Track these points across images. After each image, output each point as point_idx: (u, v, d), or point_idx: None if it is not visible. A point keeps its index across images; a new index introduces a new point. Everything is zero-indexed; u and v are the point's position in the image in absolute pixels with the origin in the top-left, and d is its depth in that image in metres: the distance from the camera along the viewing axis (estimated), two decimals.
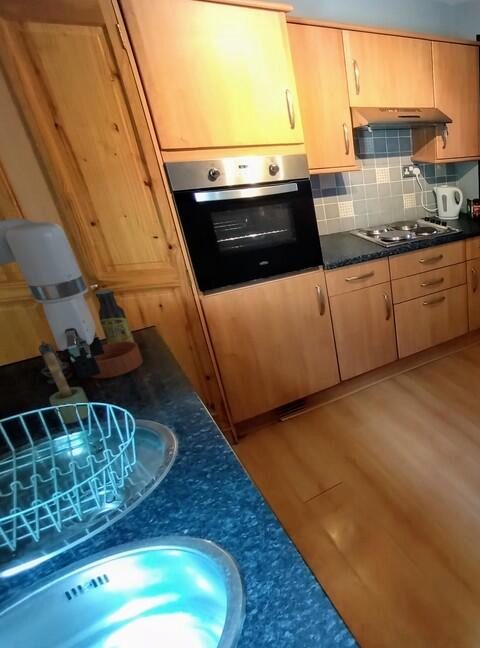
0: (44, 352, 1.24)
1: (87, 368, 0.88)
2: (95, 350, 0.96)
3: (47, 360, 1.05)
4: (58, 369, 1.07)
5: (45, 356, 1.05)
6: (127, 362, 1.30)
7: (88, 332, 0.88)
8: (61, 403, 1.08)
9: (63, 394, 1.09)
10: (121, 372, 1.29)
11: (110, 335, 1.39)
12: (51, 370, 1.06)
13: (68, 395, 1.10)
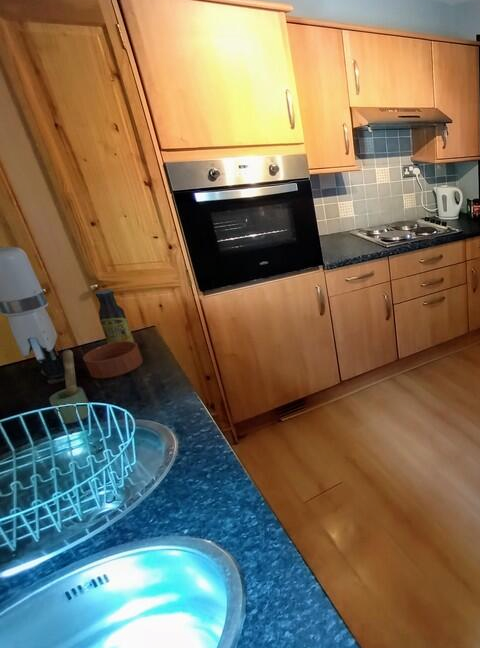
0: None
1: (52, 368, 1.06)
2: None
3: (64, 357, 1.07)
4: (72, 368, 1.09)
5: (64, 353, 1.07)
6: (127, 362, 1.30)
7: (48, 340, 1.02)
8: (61, 403, 1.08)
9: (69, 393, 1.10)
10: (121, 372, 1.29)
11: (110, 335, 1.39)
12: (65, 367, 1.08)
13: None
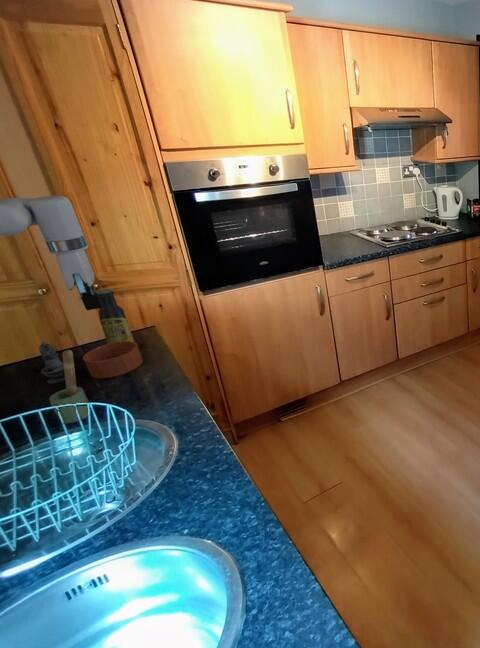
0: (44, 352, 1.24)
1: (92, 303, 1.24)
2: None
3: (64, 357, 1.07)
4: (72, 368, 1.09)
5: (64, 353, 1.07)
6: (127, 362, 1.30)
7: (89, 277, 1.20)
8: (61, 403, 1.08)
9: (69, 393, 1.10)
10: (121, 372, 1.29)
11: (110, 335, 1.39)
12: (65, 367, 1.08)
13: None
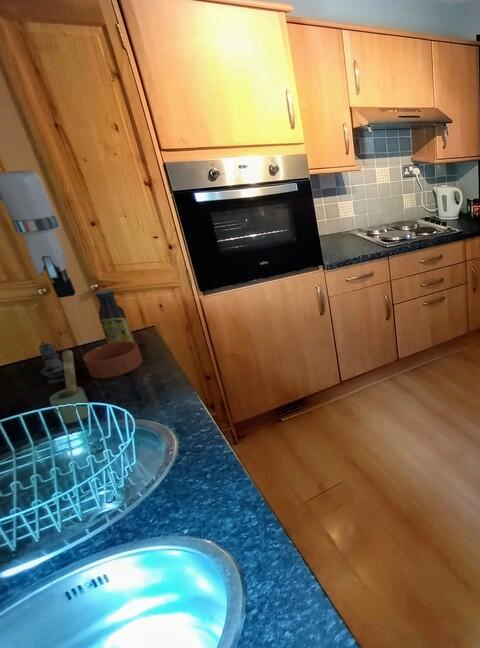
0: (44, 352, 1.24)
1: (64, 289, 1.13)
2: None
3: (64, 357, 1.07)
4: (72, 368, 1.09)
5: (64, 353, 1.07)
6: (127, 362, 1.30)
7: (61, 261, 1.10)
8: (61, 403, 1.08)
9: (69, 393, 1.10)
10: (121, 372, 1.29)
11: (110, 335, 1.39)
12: (65, 367, 1.08)
13: None
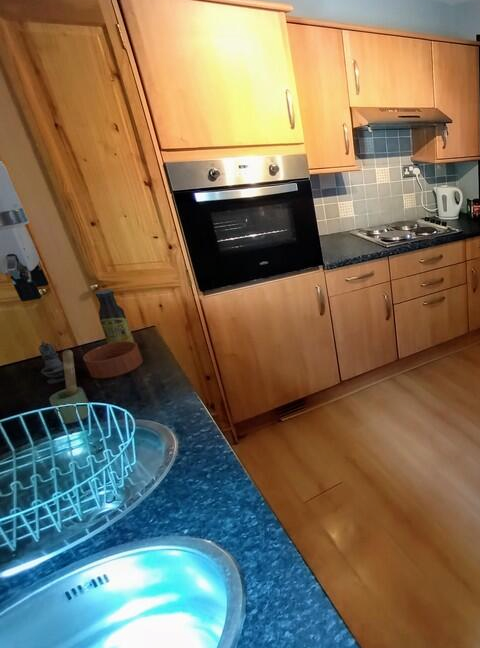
0: (44, 352, 1.24)
1: (28, 292, 0.98)
2: (39, 281, 1.06)
3: (64, 357, 1.07)
4: (72, 368, 1.09)
5: (64, 353, 1.07)
6: (127, 362, 1.30)
7: (29, 259, 0.98)
8: (61, 403, 1.08)
9: (69, 393, 1.10)
10: (121, 372, 1.29)
11: (110, 335, 1.39)
12: (65, 367, 1.08)
13: None
